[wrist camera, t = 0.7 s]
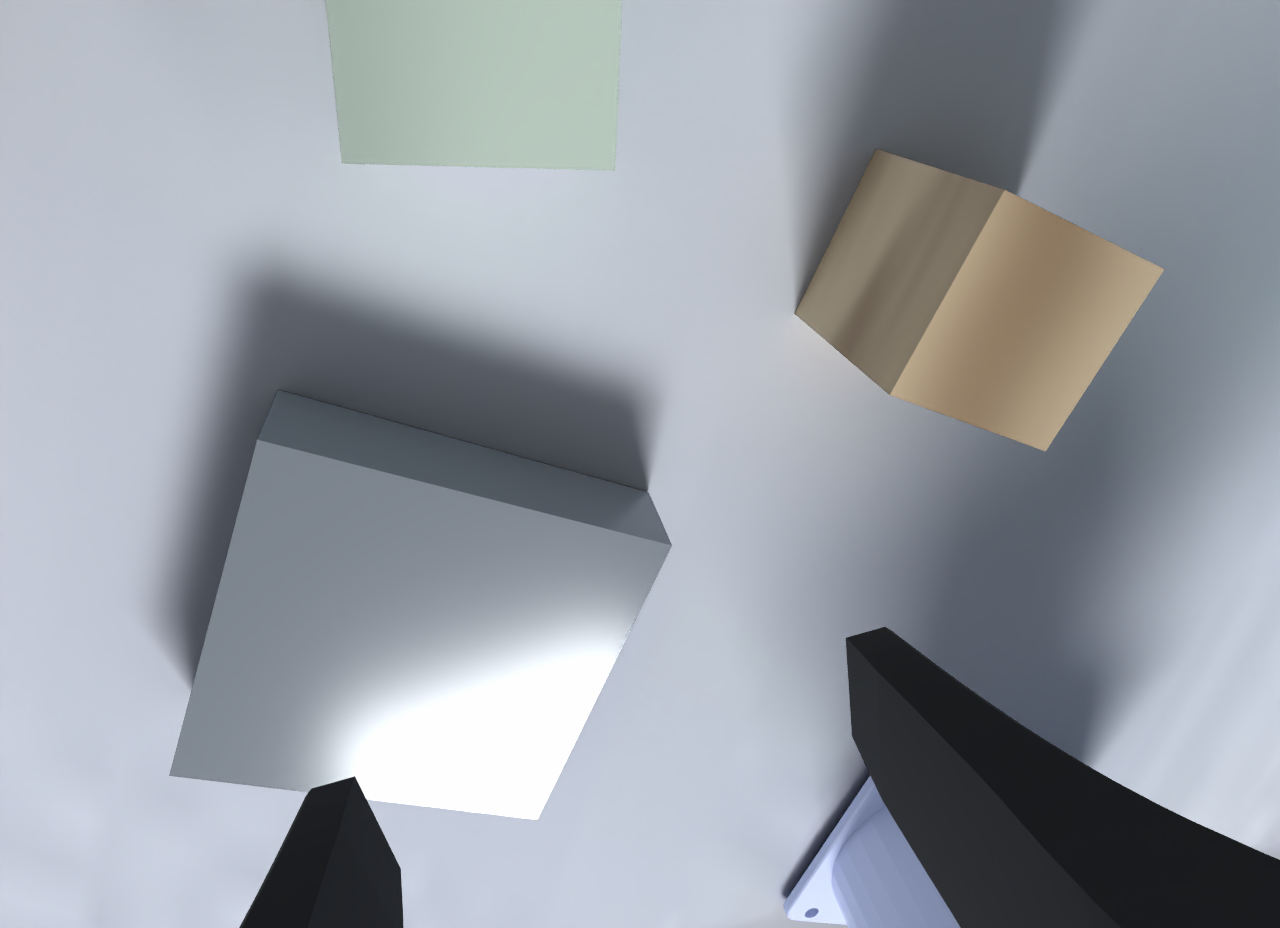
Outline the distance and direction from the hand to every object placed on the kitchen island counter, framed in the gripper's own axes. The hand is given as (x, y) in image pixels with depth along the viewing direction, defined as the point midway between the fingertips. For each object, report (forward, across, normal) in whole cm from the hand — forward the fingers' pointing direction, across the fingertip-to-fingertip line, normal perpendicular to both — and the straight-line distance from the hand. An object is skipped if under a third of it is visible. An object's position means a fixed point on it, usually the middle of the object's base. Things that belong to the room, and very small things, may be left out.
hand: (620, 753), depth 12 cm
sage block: (+10, -1, -9) cm, 14 cm away
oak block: (+10, -9, -3) cm, 14 cm away
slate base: (+10, +4, +3) cm, 11 cm away
